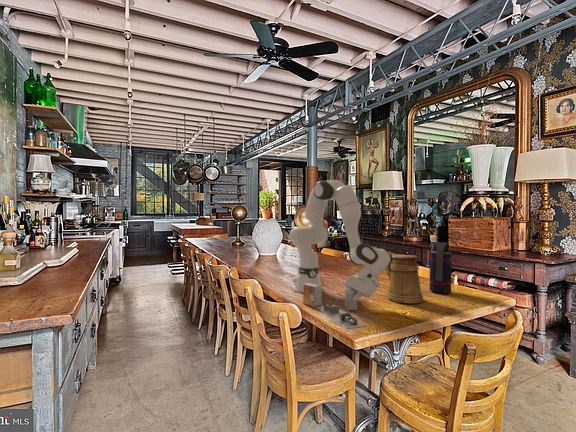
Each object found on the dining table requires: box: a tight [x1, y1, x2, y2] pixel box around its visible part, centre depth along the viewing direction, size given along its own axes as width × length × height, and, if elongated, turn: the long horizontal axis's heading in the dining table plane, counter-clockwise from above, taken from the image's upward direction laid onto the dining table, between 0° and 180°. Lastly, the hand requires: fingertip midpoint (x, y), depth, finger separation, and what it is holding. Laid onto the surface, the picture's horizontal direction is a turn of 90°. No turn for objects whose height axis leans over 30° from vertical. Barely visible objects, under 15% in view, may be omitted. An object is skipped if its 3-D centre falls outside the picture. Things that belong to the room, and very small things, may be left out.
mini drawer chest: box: [344, 288, 358, 311], centre depth 163 cm, size 5×4×9 cm
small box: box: [302, 283, 323, 308], centre depth 172 cm, size 8×6×10 cm
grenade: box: [428, 241, 453, 295], centre depth 197 cm, size 14×12×30 cm
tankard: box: [385, 251, 424, 304], centre depth 183 cm, size 18×24×25 cm
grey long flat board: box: [315, 303, 368, 330], centre depth 154 cm, size 30×10×4 cm, turn 21°
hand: (349, 298), depth 163 cm, fingers closed on mini drawer chest, 5 cm apart
